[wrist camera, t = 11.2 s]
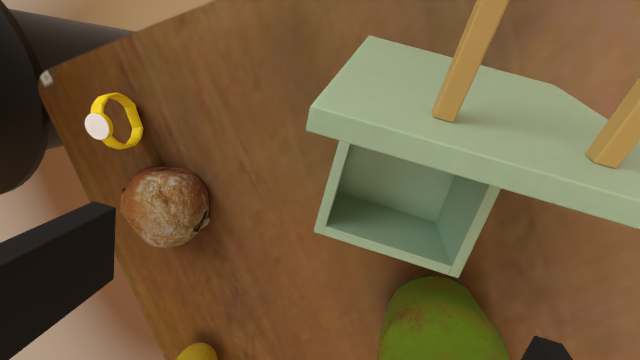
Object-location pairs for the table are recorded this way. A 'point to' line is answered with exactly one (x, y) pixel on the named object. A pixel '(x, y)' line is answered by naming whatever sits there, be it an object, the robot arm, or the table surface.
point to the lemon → (198, 352)
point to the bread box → (403, 209)
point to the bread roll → (165, 205)
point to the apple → (438, 324)
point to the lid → (486, 122)
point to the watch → (103, 127)
